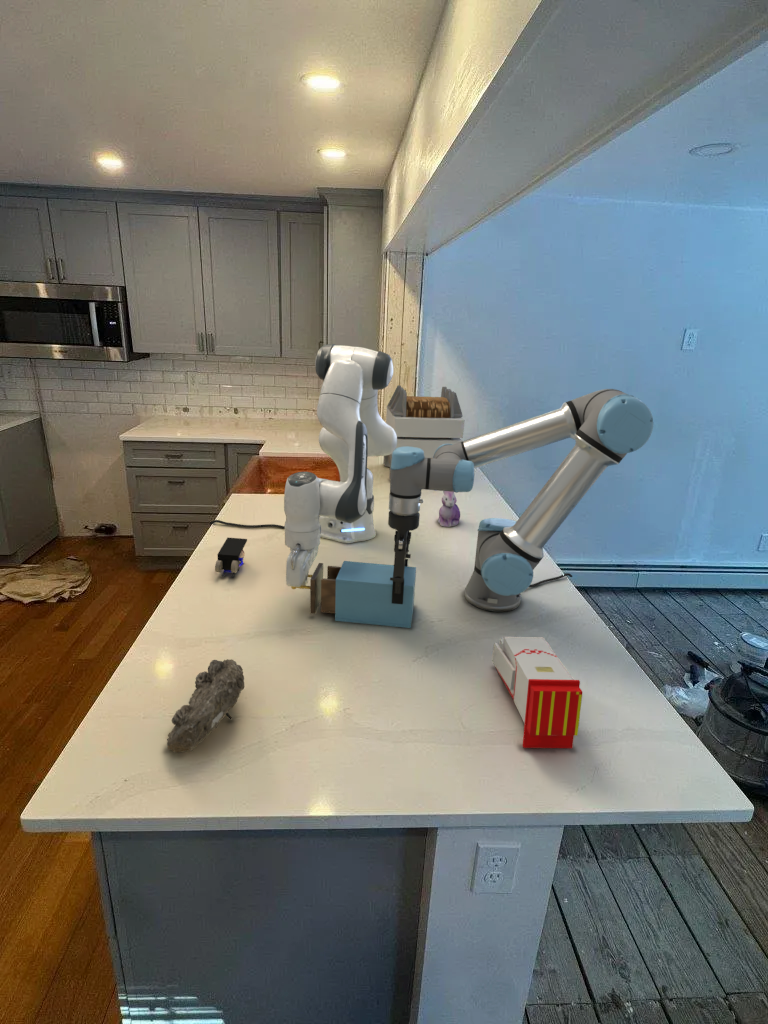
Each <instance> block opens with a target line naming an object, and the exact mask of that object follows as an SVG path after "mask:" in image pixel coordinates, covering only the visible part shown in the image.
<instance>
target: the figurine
mask: <svg viewBox="0 0 768 1024" xmlns="http://www.w3.org/2000/svg"><path fill="white" fill-rule="evenodd" d="M457 501H458V500H457V497H456V495H455V492H450V491H443V495H442V497H441V503H442V506H441V507H440V508H439V510H438V519H437V523H438V524H439V525H440V526H441V527H446V528H449V527H455V526H457V525H458V524H459V523H460V518H461V511H460V508H459V506H458V504H456V503H457Z"/></svg>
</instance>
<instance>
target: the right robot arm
mask: <svg viewBox="0 0 768 1024" xmlns="http://www.w3.org/2000/svg"><path fill="white" fill-rule="evenodd" d="M652 413H653V412H652V411H651V409H650V408H649V406H648V405H647V404H645V402H643V401H642V400H641V399H640V398H639V397H636V396H634V395H632V394H629V393H626V392H624V391H622V390H620V389H615V388H604V389H598V390H595V391H593V392H589V393H587V394H584V395H582V396H579V397H576V398H574V399H573V398H572V399H570V400H568V401H565V402H562V405H561V406H560V408H557V409H554V410H551V411H549V412H545V413H543V414H539V415H537V416H533V417H531V418H527V419H525V420H522V421H519V422H518V421H517V422H516V423H515V422H514V423H513V424H511V425H507V426H504V427H501V428H497V429H495V430H492V431H488V432H486V433H483V434H480V435H478V436H475V437H472V438H471V437H470V438H468V439H466V440H462V441H463V442H459V443H456V444H443V445H441V446H439V447H438V448H437V449H436V451H435V453H434V456H433V458H428V459H427V458H426V457H425V456H424V451H423V450H422V449H420V448H415V447H409V446H406V447H398V448H396V449H395V450H394V451H393V453H392V463H391V477H390V478H389V495H388V510H389V511H388V521H387V525H388V527H389V528H390V529H392V530H395V532H394V534H393V535H394V536H393V541H394V545H393V552H394V561H393V565H394V571H393V578H391V577H390V580H393V588H392V603H393V604H403V593H404V570H405V566H408V567H409V559H411V557H412V556H411V555H412V554H411V553H409V552H410V544H411V539H412V532H411V531H415V530H417V529H418V528H419V526H420V517H421V514H420V511H421V504H423V503H424V500H423V498H422V490H426V491H437V492H439V491H440V492H444V491H450V492H454V493H456V494H457V493H469V492H471V491H472V490H473V487H474V481H475V469H476V468H480V467H483V466H486V465H489V464H492V463H495V462H496V463H497V462H499V461H501V460H505V459H508V458H511V457H514V456H518V455H520V454H523V453H526V452H529V451H533V450H535V449H538V448H543V447H545V446H548V445H550V444H554V443H558V442H560V441H563V440H566V439H572V440H574V441H575V443H574V446H573V447H572V449H570V451H569V452H568V454H567V455H566V457H565V458H564V459H563V461H562V462H561V463H560V464H559V466H557V468H556V470H555V471H554V472H553V474H552V475H551V476H550V477H549V479H548V480H547V481H546V483H545V484H544V485H543V487H542V488H540V491H539V492H537V494H536V496H534V498H533V499H532V501H531V502H530V504H529V505H528V506H527V508H526V509H525V510H524V511H523V513H522V514H521V515H520V517H519V518H517V520H513V519H508V518H501V517H489V518H484V519H481V520H480V521H479V523H478V528H477V540H476V549H475V556H474V557H475V558H474V568H473V571H472V574H471V576H470V577H469V580H468V582H467V584H466V586H465V589H464V598H465V600H466V601H467V602H468V603H469V604H470V605H472V606H474V607H476V608H477V609H481V610H483V611H489V612H495V613H496V612H497V613H498V612H499V613H503V612H510V611H513V610H515V609H517V608H518V607H519V606H520V605H521V601H522V593H524V592H525V591H526V590H528V589H529V588H534V587H537V586H540V585H542V584H545V583H548V582H552V581H556V580H560V579H562V578H565V577H566V576H568V577H569V578H573V575H572V574H571V573H569V572H566V573H563V574H564V576H563V574H561V575H558V576H556V577H551V578H547V579H543V580H540V581H538V582H536V583H532V582H533V579H534V570H535V568H536V567H538V565H539V564H540V562H542V560H543V558H544V557H545V555H544V547H545V545H546V544H547V543H548V542H549V541H550V539H551V538H552V537H553V535H554V534H555V533H556V532H557V530H559V528H560V527H561V525H562V524H563V523H564V522H565V520H566V519H567V518H568V517H569V516H570V514H571V513H572V512H573V510H574V509H575V508H576V507H577V506H578V505H579V503H580V501H581V500H582V499H583V498H584V497H585V496H586V495H587V493H588V492H589V490H591V488H592V487H593V485H594V484H595V483H596V482H597V480H598V479H600V477H601V475H602V474H603V473H604V472H605V470H606V469H607V468H608V467H610V466H616V465H619V464H620V463H621V462H622V460H624V458H625V457H626V455H627V454H630V453H632V452H637V450H640V449H641V448H642V447H644V445H645V444H646V443H647V442H648V441H649V439H650V437H651V436H652V433H653V430H654V418H653V414H652Z"/></svg>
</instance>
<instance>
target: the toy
mask: <svg viewBox="0 0 768 1024" xmlns="http://www.w3.org/2000/svg"><path fill="white" fill-rule="evenodd" d="M491 662H492V663H493V665H494V667H495V669H496V671H497V673H498V675H499V676H500V678H501V680H502V683H503V684H504V686H505V688H506V689H507V691H508V693H509V695H510V697H511V698H512V700H513V702H514V705H515V707H516V709H517V711H518V713H519V715H520V717H521V719H522V722H523V724H524V725H523V736H522V748H524V749H573V747H574V738H575V736H577V737H578V734H579V725H580V717H581V710H582V709H581V708H582V701H583V700H582V699H583V690H582V689H581V688H580V685H581V681H580V679H574V677H573V676H572V675H571V673H570V672H569V670H568V669H567V668H566V667H565V665H564V664H563V662H562V661H561V660H560V658H559V657H558V656H557V654H556V653H555V651H554V650H553V649H552V647H551V645H550V643H549V642H547V640H546V639H545V637H543V636H542V637H541V636H535V637H534V636H503V637H500V638H499V642H498V643H497V642H494V643H493V649H492V657H491Z"/></svg>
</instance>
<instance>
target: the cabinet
mask: <svg viewBox="0 0 768 1024" xmlns="http://www.w3.org/2000/svg"><path fill="white" fill-rule="evenodd" d="M340 567H341V569H340V571H339V573H338V576H337V578H336V598H335V613H334V621H335V622H344V623H355V624H364V625H375V626H384V627H395V628H405V629H412V623H413V614H414V613H413V612H414V607H415V594H416V593H415V590H416V579H417V578H416V577H417V566H409V565H408V566H405V570H404V593H403V604H393V603H392V588H393V580H390V577H391V578H393V571H394V564H387V563H386V564H385V563H374V562H373V563H372V562H363V561H361V562H360V561H350V560H343V562H342V564H341V566H340Z"/></svg>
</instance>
